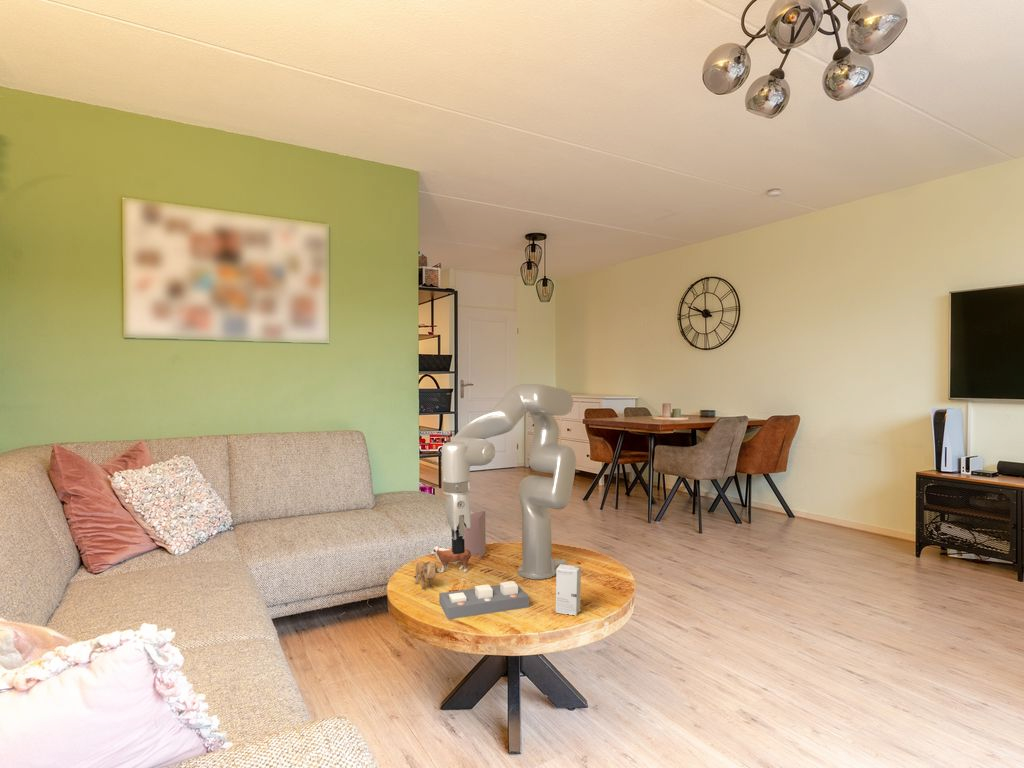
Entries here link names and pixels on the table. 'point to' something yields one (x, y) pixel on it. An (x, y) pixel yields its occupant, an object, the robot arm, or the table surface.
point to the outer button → (457, 597)
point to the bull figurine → (451, 557)
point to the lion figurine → (426, 572)
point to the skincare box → (568, 589)
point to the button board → (482, 603)
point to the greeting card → (476, 535)
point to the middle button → (483, 591)
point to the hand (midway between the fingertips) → (458, 552)
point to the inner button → (508, 588)
